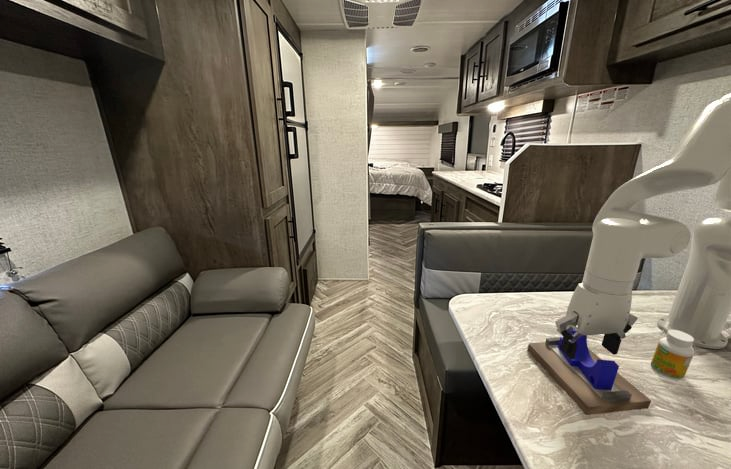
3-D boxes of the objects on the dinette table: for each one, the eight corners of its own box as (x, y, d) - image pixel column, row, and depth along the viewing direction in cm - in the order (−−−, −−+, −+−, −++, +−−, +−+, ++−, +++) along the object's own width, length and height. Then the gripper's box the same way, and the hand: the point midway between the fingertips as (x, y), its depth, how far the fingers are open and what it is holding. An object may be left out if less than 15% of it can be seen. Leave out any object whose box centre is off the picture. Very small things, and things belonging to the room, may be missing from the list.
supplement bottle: (644, 366, 67) (657, 330, 64) (658, 360, 69) (671, 325, 65) (674, 383, 62) (690, 346, 59) (689, 376, 64) (705, 339, 61)
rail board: (575, 345, 73) (578, 334, 72) (648, 408, 56) (653, 394, 55) (527, 349, 72) (529, 338, 71) (586, 415, 55) (590, 401, 54)
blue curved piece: (557, 347, 70) (562, 326, 68) (578, 349, 69) (583, 327, 67) (586, 388, 58) (593, 364, 57) (611, 390, 58) (619, 366, 56)
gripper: (629, 270, 61) (609, 337, 67) (552, 275, 60) (538, 344, 65) (667, 287, 54) (642, 361, 60) (581, 294, 53) (563, 369, 58)
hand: (588, 352), depth 63 cm, fingers open, 9 cm apart
